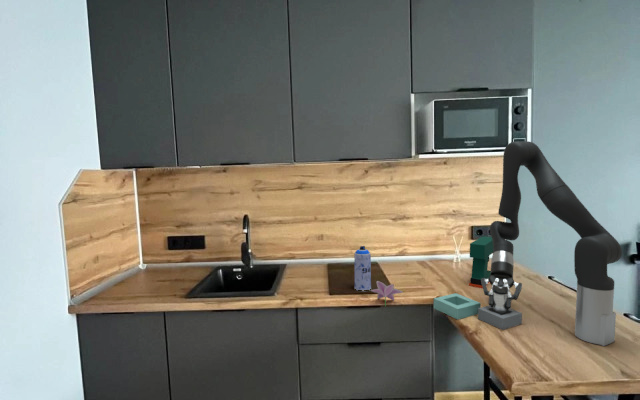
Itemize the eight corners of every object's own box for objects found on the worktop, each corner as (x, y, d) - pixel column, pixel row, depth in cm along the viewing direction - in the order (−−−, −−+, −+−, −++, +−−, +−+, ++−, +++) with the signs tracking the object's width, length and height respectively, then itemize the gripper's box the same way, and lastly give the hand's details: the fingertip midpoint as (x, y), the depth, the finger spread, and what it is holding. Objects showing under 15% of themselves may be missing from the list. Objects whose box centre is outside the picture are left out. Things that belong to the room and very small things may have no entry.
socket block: (521, 323, 122) (522, 312, 122) (502, 329, 118) (503, 318, 118) (496, 313, 131) (496, 303, 131) (477, 318, 127) (478, 308, 126)
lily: (406, 307, 141) (404, 283, 145) (391, 303, 134) (389, 279, 138) (381, 309, 149) (380, 286, 153) (365, 306, 141) (365, 282, 145)
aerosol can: (360, 292, 156) (360, 248, 155) (351, 287, 163) (350, 245, 162) (374, 289, 160) (374, 246, 158) (364, 284, 167) (364, 243, 165)
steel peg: (510, 322, 123) (511, 287, 122) (500, 325, 121) (501, 289, 120) (498, 317, 128) (498, 283, 127) (489, 320, 126) (489, 285, 124)
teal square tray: (480, 313, 132) (480, 303, 131) (457, 319, 127) (457, 309, 126) (455, 302, 142) (455, 293, 142) (433, 308, 137) (433, 298, 137)
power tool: (485, 269, 187) (486, 233, 186) (499, 271, 183) (500, 234, 181) (467, 285, 163) (468, 243, 161) (483, 288, 158) (484, 245, 157)
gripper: (481, 258, 133) (476, 299, 123) (524, 262, 126) (523, 306, 116) (482, 268, 138) (478, 308, 128) (523, 273, 131) (522, 315, 121)
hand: (499, 307), depth 122 cm, fingers closed on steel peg, 4 cm apart
